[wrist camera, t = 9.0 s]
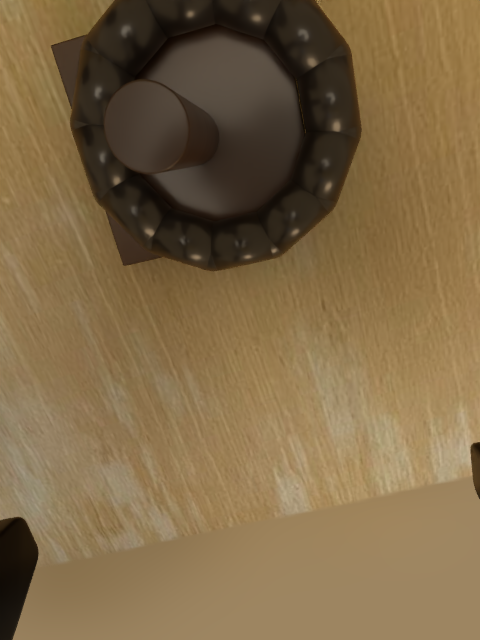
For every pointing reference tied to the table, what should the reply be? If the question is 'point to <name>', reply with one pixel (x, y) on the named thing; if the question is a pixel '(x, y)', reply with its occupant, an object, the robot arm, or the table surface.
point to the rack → (202, 124)
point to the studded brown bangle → (314, 157)
